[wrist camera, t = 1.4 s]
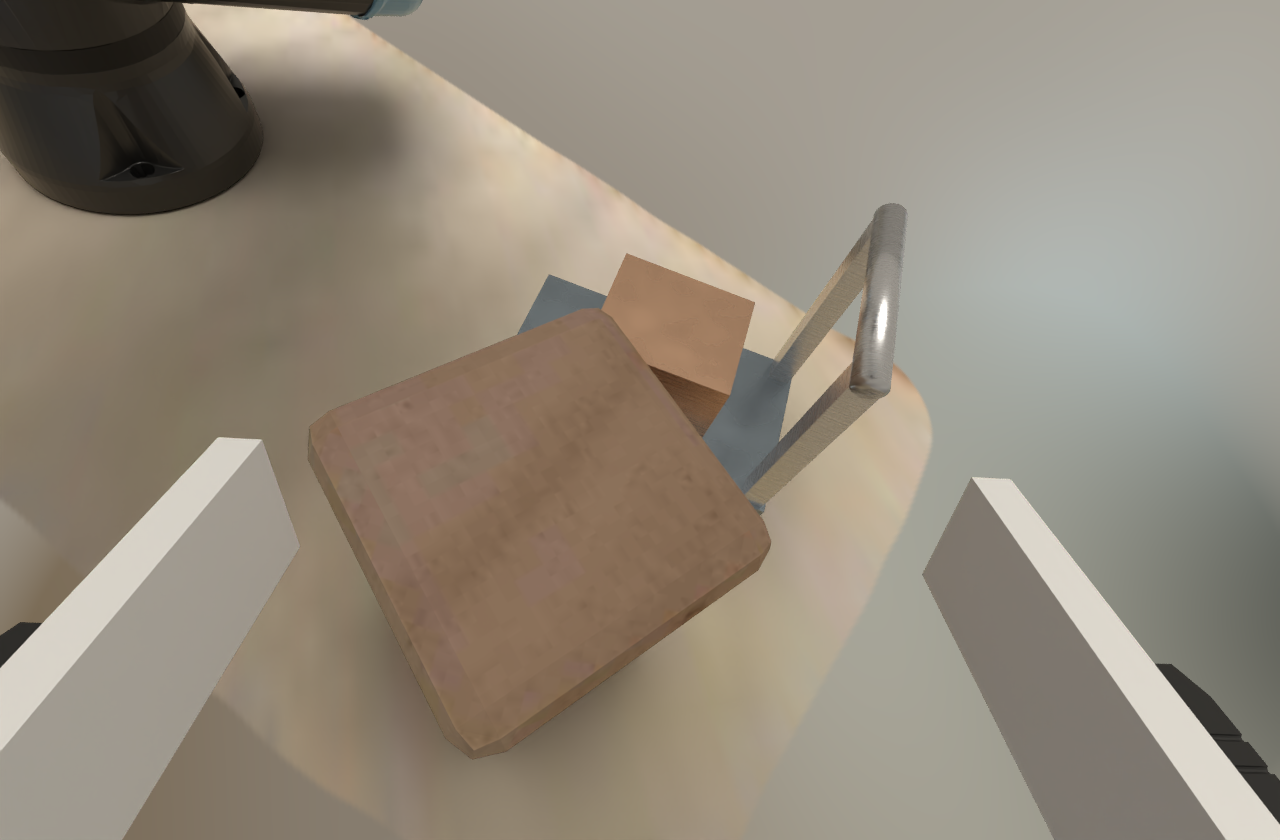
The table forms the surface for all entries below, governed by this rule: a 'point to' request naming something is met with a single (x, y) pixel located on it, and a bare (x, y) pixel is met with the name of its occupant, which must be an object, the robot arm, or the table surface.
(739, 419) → the trolley
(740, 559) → the wooden block
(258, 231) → the table surface
